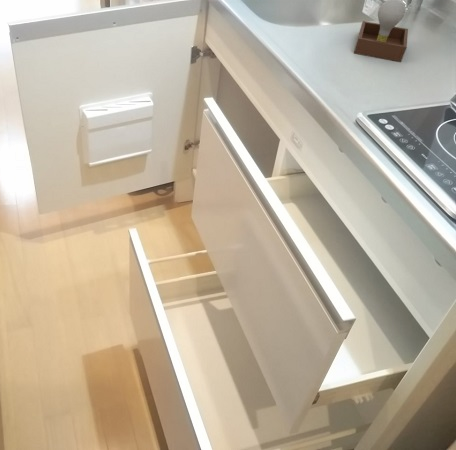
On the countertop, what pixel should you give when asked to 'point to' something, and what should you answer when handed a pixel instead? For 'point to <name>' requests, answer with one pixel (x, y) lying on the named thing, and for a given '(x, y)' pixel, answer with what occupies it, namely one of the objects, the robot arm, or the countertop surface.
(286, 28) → the countertop surface
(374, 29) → the tray
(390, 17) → the light bulb
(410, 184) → the countertop surface
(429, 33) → the countertop surface
